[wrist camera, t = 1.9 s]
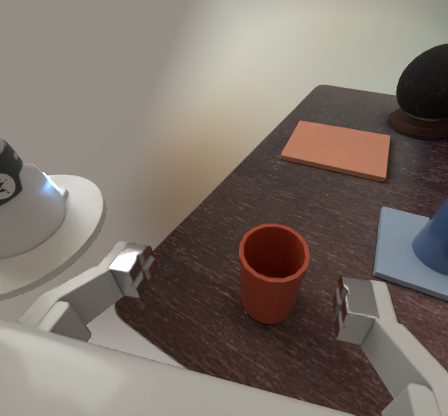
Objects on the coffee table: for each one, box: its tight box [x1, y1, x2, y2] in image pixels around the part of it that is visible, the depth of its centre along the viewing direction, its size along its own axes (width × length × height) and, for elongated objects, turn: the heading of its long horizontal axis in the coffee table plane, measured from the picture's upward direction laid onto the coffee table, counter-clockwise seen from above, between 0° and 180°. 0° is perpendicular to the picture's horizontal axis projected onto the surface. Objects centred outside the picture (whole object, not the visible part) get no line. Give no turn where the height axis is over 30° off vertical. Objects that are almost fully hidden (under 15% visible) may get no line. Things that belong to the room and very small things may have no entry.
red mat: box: [280, 121, 390, 182], centre depth 50 cm, size 18×14×1 cm
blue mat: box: [373, 206, 448, 301], centre depth 33 cm, size 14×12×1 cm
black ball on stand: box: [387, 44, 448, 139], centre depth 49 cm, size 13×13×15 cm
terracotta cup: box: [239, 224, 310, 324], centre depth 27 cm, size 6×6×10 cm
